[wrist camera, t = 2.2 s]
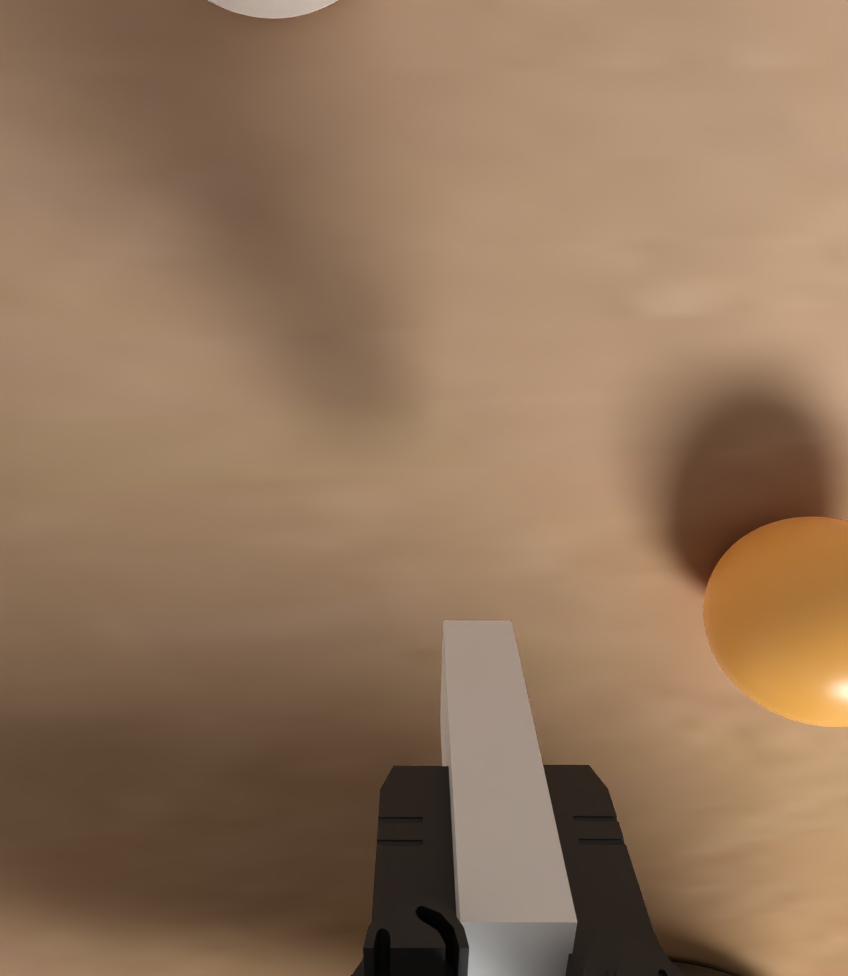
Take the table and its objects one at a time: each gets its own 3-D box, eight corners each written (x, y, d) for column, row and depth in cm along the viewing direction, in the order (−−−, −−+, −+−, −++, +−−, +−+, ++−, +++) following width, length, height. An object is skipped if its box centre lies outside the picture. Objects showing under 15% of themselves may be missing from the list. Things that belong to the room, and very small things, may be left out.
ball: (830, 642, 21) (958, 776, 16) (662, 641, 21) (738, 775, 16) (877, 485, 19) (1042, 584, 14) (690, 484, 19) (789, 582, 14)
